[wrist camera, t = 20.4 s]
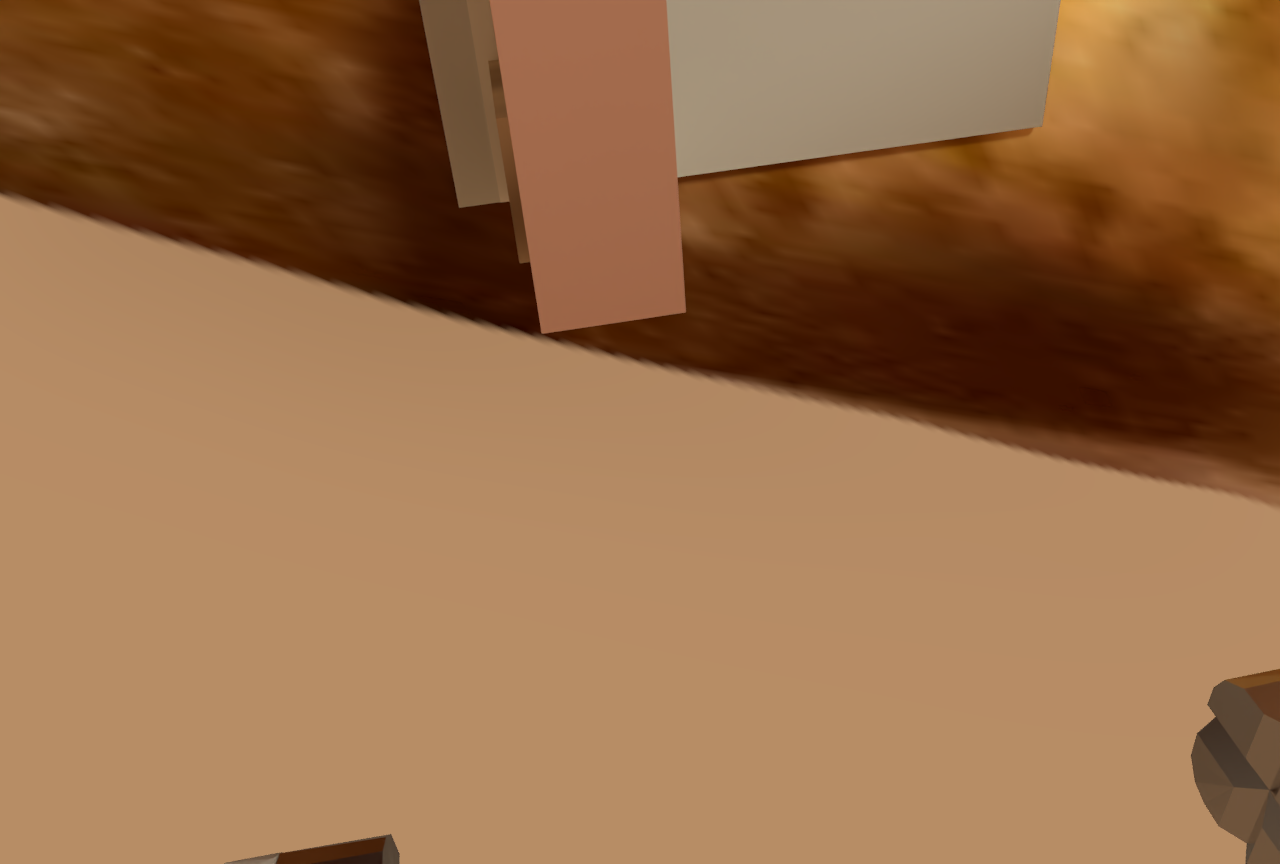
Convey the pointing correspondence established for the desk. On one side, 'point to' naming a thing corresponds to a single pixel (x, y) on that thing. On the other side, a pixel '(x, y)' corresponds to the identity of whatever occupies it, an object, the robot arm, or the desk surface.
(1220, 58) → the desk surface
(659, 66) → the lintel
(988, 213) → the desk surface
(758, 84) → the blueprint mat
